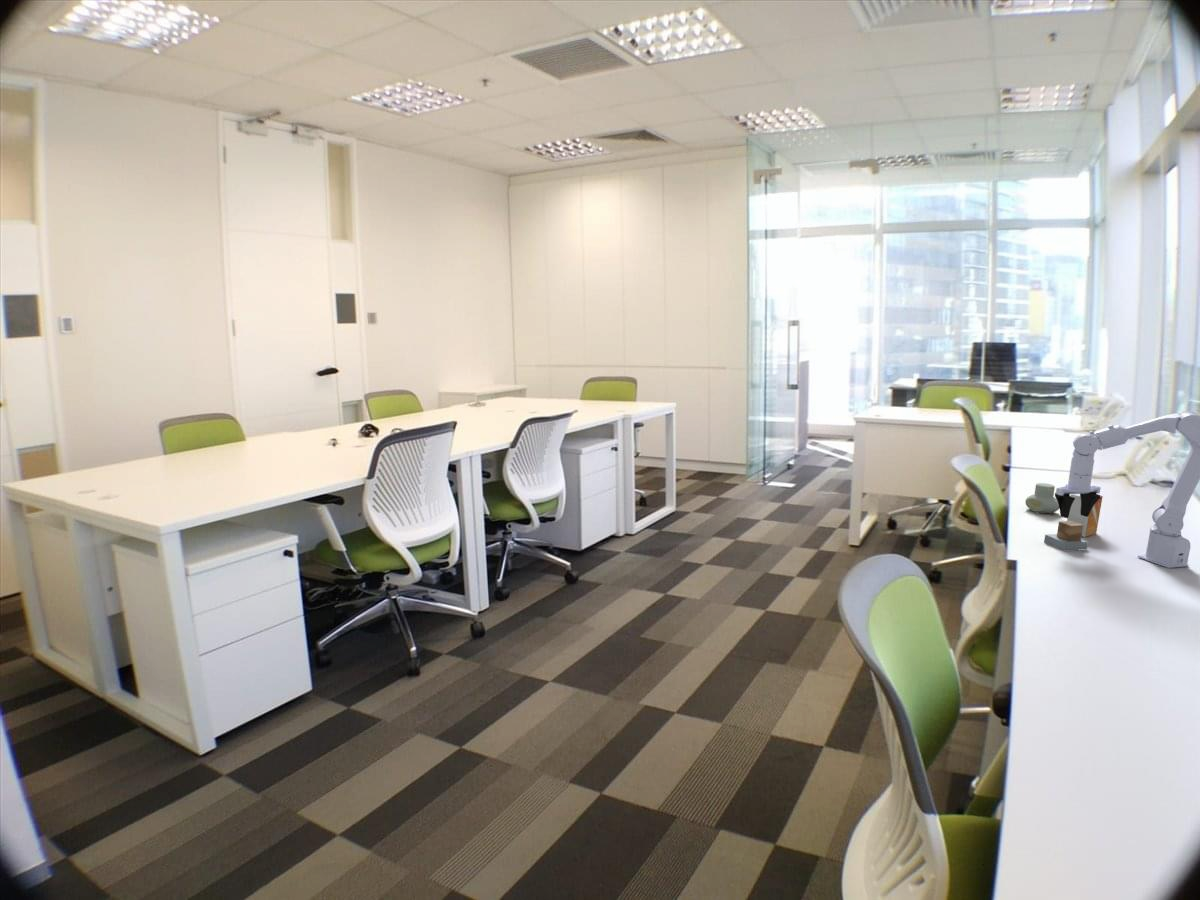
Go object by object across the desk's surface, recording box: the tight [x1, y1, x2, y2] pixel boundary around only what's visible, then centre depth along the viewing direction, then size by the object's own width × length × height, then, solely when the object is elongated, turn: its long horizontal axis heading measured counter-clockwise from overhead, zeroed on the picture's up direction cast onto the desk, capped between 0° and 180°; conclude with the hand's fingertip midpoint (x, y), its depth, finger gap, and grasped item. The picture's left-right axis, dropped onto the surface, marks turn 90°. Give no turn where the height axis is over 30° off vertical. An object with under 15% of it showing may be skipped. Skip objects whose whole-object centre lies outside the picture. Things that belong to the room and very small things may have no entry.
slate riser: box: [1043, 533, 1089, 551], centre depth 227 cm, size 8×8×3 cm
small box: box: [1066, 494, 1103, 538], centre depth 239 cm, size 8×6×13 cm
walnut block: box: [1056, 520, 1083, 541], centre depth 225 cm, size 4×4×5 cm
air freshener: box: [1025, 482, 1060, 514], centre depth 264 cm, size 11×8×10 cm
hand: (1074, 516), depth 224 cm, fingers open, 7 cm apart
